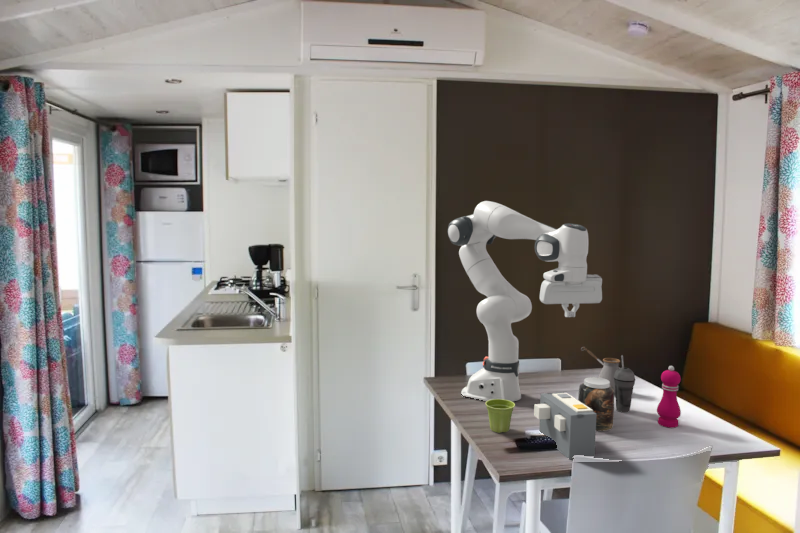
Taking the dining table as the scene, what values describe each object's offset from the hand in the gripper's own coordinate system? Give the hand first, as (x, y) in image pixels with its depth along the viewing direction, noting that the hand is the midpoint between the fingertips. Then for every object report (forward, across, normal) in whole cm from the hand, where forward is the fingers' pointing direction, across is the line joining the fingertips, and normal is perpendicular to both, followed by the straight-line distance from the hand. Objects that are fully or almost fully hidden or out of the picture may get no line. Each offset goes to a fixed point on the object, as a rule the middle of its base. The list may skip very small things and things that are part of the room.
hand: (569, 316), depth 194 cm
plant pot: (+37, +23, +2) cm, 43 cm away
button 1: (+29, +12, +11) cm, 33 cm away
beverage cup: (+37, -27, -10) cm, 47 cm away
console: (+36, +7, +16) cm, 40 cm away
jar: (+37, -10, +2) cm, 38 cm away
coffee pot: (+38, -32, -35) cm, 60 cm away
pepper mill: (+36, -35, +5) cm, 51 cm away
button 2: (+29, +10, +21) cm, 37 cm away
